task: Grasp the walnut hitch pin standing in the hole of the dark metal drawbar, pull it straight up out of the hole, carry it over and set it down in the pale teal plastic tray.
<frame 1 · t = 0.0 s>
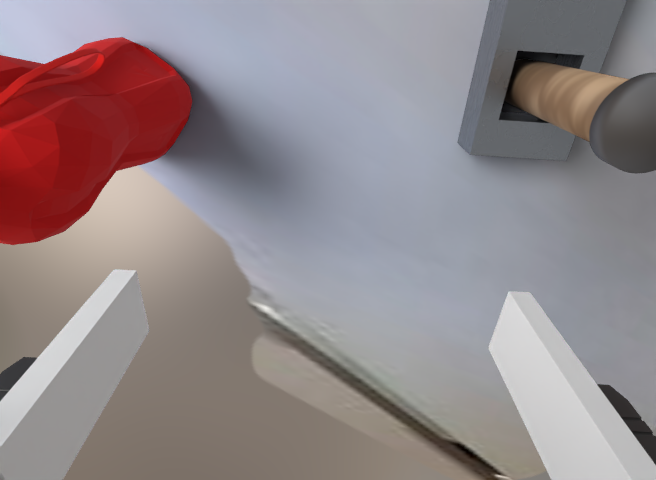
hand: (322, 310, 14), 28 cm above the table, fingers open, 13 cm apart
water bottle: (147, 90, 37), on the table
drawbar: (541, 7, 33), on the table
pin: (519, 82, 36), resting in drawbar
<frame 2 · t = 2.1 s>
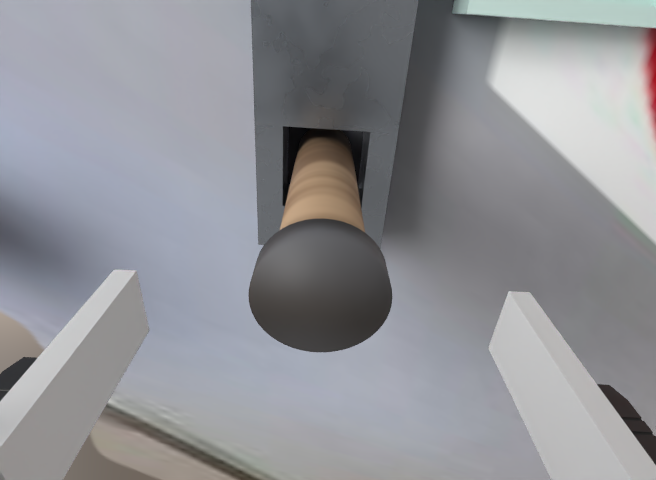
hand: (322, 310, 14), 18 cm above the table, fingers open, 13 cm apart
drawbar: (330, 65, 26), on the table
pin: (324, 152, 29), resting in drawbar
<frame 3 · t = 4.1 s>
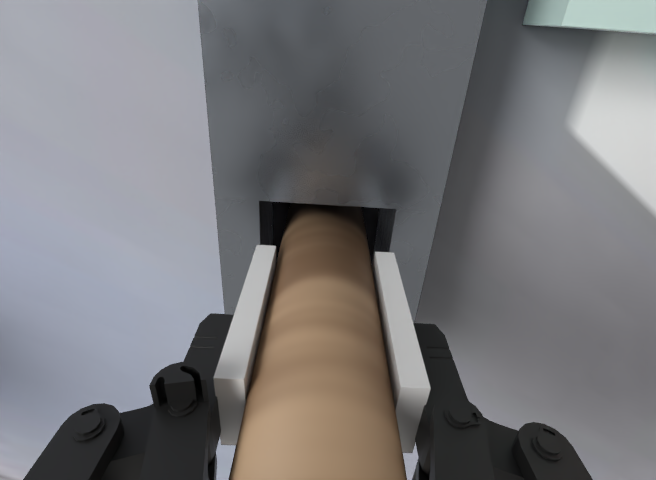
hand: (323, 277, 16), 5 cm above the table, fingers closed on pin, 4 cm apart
drawbar: (333, 101, 17), on the table
pin: (325, 220, 20), resting in drawbar, touching gripper
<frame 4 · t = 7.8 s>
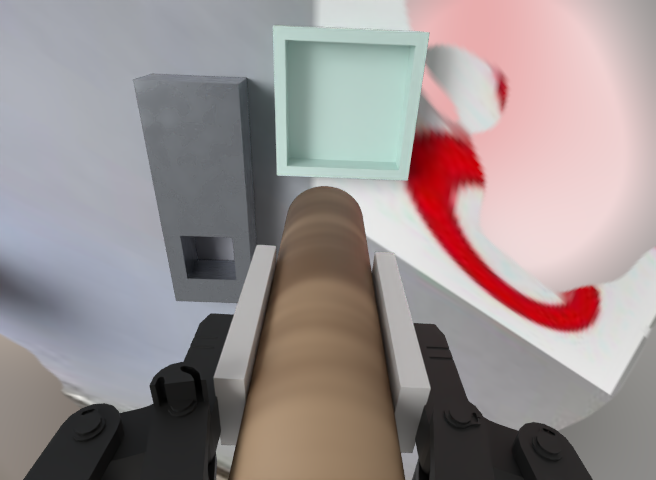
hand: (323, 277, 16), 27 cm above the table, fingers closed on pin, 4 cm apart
tray: (345, 103, 38), on the table
drawbar: (212, 193, 43), on the table
pin: (324, 221, 20), point 22 cm above the table, touching gripper
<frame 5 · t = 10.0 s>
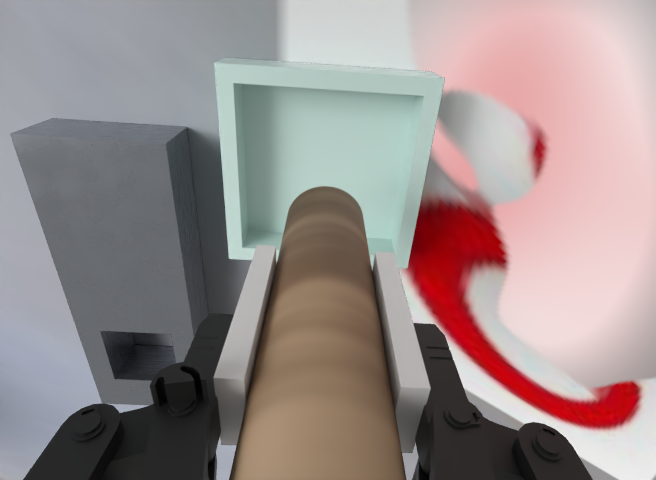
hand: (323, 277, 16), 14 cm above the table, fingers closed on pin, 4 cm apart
tray: (324, 163, 28), on the table
drawbar: (149, 269, 32), on the table
pin: (325, 221, 20), point 9 cm above the table, touching gripper
when the fingers open (7 cm above the table, at t = 11.8 s): pin stays where it is, resting on tray.
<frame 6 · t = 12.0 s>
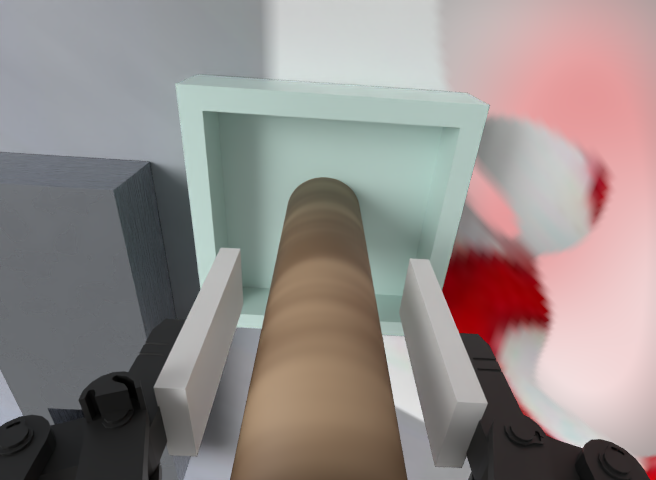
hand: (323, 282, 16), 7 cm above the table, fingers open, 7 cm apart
tray: (325, 206, 22), on the table
drawbar: (111, 327, 27), on the table
pin: (323, 211, 21), point 1 cm above the table, touching tray
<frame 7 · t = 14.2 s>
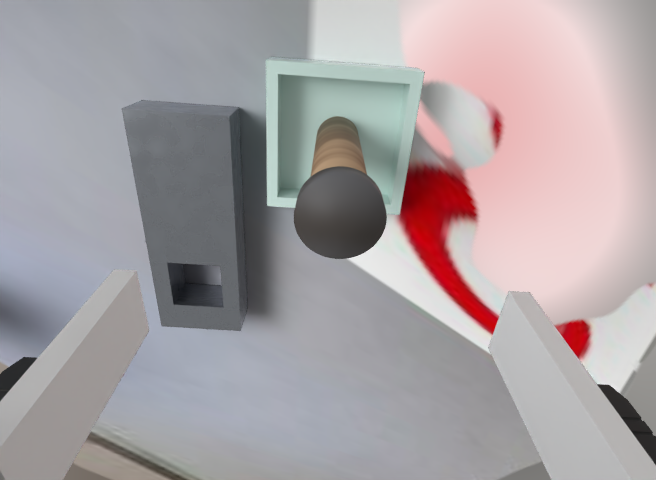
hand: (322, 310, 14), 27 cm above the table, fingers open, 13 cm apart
tray: (338, 135, 38), on the table
drawbar: (202, 219, 42), on the table
pin: (337, 137, 37), point 1 cm above the table, touching tray
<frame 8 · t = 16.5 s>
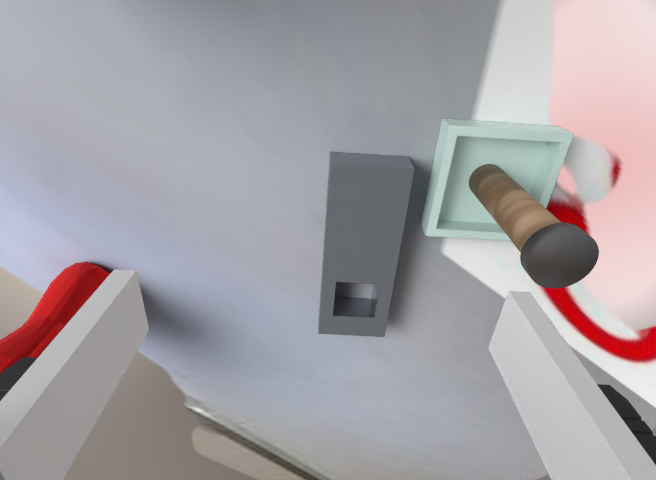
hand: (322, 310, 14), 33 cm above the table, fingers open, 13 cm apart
water bottle: (101, 284, 54), on the table
tray: (485, 178, 46), on the table
drawbar: (358, 244, 51), on the table
pin: (486, 180, 46), point 1 cm above the table, touching tray
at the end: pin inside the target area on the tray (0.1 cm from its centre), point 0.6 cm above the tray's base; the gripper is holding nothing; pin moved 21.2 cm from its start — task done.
